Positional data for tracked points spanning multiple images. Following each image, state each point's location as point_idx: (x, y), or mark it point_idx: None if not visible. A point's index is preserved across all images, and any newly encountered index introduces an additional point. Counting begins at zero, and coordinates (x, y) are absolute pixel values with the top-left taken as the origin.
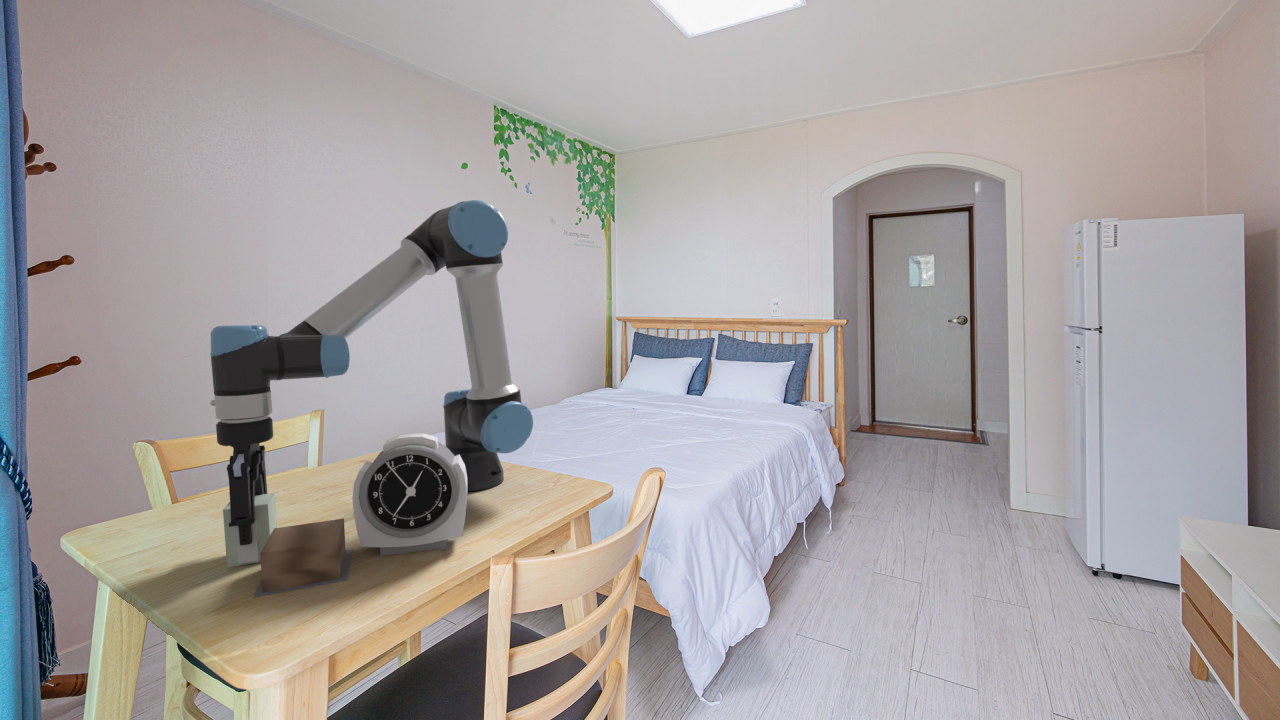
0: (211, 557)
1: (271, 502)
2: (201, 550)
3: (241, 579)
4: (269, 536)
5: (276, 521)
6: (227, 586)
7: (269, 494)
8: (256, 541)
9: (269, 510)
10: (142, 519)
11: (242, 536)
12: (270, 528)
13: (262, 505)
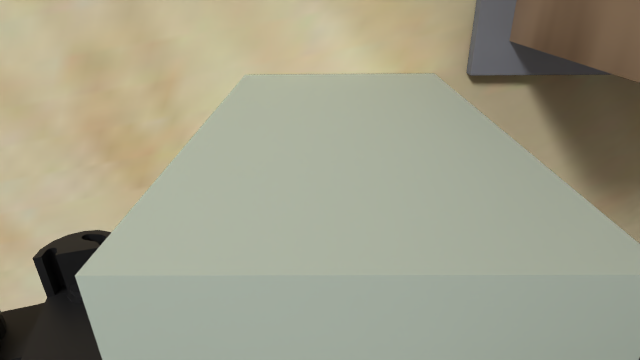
0: None
1: (389, 239)
2: None
3: (563, 162)
4: (483, 116)
5: (221, 122)
6: (601, 197)
7: (140, 330)
8: None
9: (522, 205)
10: None
11: None
12: (458, 130)
13: (637, 321)
